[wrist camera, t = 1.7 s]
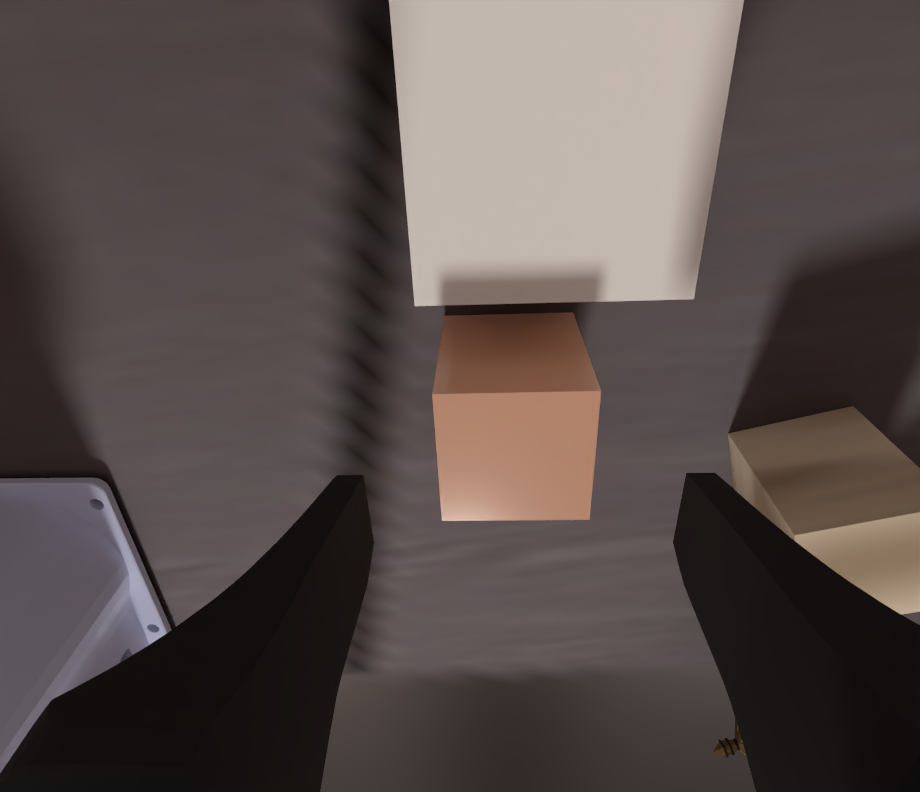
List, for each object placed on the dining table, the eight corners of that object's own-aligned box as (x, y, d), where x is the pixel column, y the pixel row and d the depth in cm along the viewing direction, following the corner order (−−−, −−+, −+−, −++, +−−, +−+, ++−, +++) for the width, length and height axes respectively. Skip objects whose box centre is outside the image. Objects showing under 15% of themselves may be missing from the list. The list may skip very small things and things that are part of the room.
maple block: (850, 495, 21) (944, 607, 17) (736, 518, 22) (798, 630, 17) (852, 405, 19) (958, 504, 15) (727, 432, 20) (794, 535, 16)
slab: (661, 263, 17) (693, 299, 14) (425, 269, 17) (414, 306, 15) (701, -30, 14) (752, -52, 11) (404, -14, 14) (386, -32, 11)
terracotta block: (566, 420, 20) (589, 519, 16) (451, 422, 20) (442, 520, 16) (572, 312, 18) (601, 390, 14) (444, 315, 18) (432, 394, 14)
